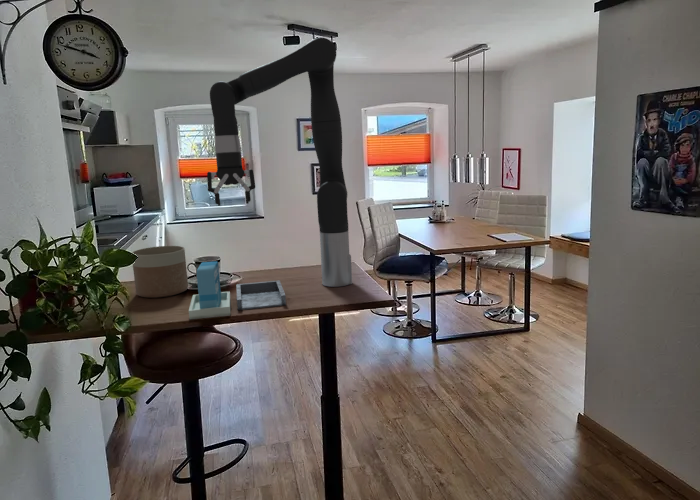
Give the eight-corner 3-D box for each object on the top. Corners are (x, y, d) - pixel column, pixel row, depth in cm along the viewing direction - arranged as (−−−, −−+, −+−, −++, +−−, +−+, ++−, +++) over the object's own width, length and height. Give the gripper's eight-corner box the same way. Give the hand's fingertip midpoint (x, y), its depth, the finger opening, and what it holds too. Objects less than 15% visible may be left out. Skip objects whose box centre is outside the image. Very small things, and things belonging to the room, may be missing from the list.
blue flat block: (217, 312, 142) (213, 269, 140) (200, 313, 142) (196, 270, 139) (221, 300, 154) (218, 260, 152) (205, 301, 153) (202, 261, 151)
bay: (280, 289, 166) (279, 280, 165) (286, 305, 148) (285, 295, 148) (237, 293, 163) (236, 284, 162) (237, 310, 145) (236, 299, 145)
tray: (230, 299, 157) (229, 291, 156) (230, 315, 141) (229, 306, 140) (193, 302, 155) (192, 294, 154) (189, 319, 139) (188, 310, 138)
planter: (187, 283, 179) (183, 244, 176) (190, 294, 164) (185, 251, 161) (137, 289, 173) (132, 248, 171) (135, 301, 159) (130, 257, 156)
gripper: (251, 150, 164) (255, 201, 167) (204, 152, 161) (209, 205, 164) (252, 149, 157) (257, 203, 160) (203, 152, 154) (209, 207, 157)
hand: (233, 204), depth 162 cm, fingers open, 8 cm apart
